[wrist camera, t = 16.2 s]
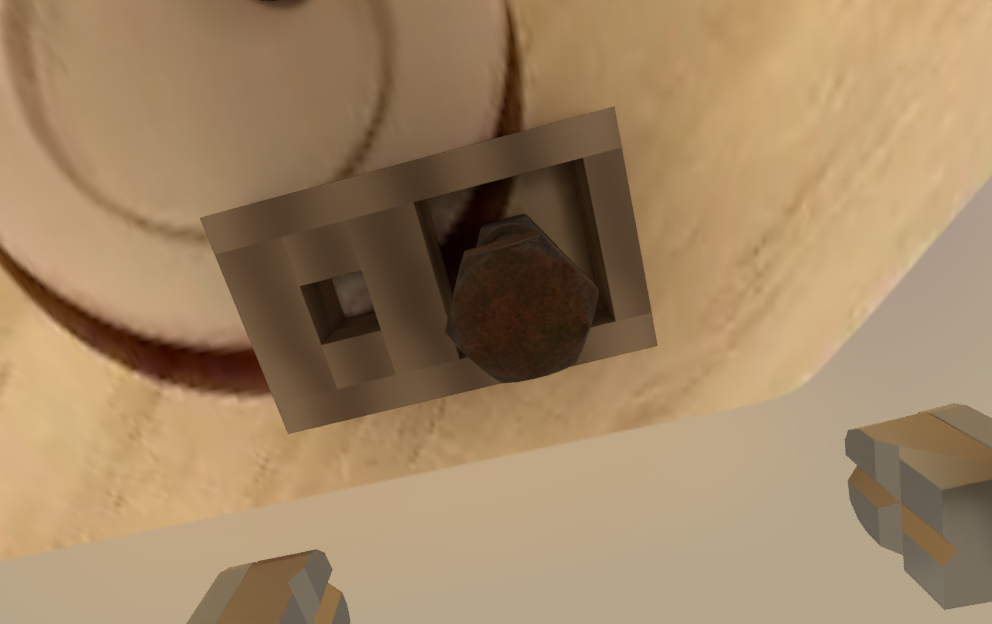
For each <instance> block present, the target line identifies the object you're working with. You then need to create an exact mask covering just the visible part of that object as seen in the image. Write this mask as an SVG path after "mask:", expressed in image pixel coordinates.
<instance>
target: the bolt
mask: <svg viewBox="0 0 992 624" xmlns="http://www.w3.org/2000/svg"><path fill="white" fill-rule="evenodd" d="M598 295H599V289H598V288H597V286H596V285H595V284H594V283H593V282H592V281H591V280H590V279H589V278H588V277H587V276H586V275H585V274H584V273H583V272H582V271H581V270H580V269H579V268H578V267H577V266H576V265H575V264H574V263H573V262H572V261H571V260H570V259H569V258H568V257H567V256H566V255H565V254H564V253H563V252H562V251H561V250H560V249H559V248H558V246H557V245H556V244H555V243H554V242H553V241H552V240H551V239H550V238H549V237H548V236H547V235H546V234H545V233H544V232H543V231H542V230H541V229H540V228H539V227H538V226H537V225H536V224H535V223H534V222H533V221H532V220H531V219H530V218H529V217H528V216H527V215H526V214H523V215H518V216H514V217H510V218H507V219H503V220H500V221H496V222H493V223H490V224H487V225H484V226H481V229H480V233H479V237H478V241H477V245H476V248H473V249H470V250H466V251H464V254H463V257H462V261H461V265H460V269H459V273H458V277H457V281H456V285H455V289H454V293H453V298H452V302H451V306H450V310H449V315H448V319H447V324H446V329H445V333H446V334H447V335H448V337H449V338H450V339H451V340H452V341H453V342H454V344H455V345H456V346H457V347H458V348H459V349H460V350H461V351H462V352H463V353H464V354H465V355H466V356H467V357H468V358H469V359H470V360H472V361H473V362H474V363H475V364H476V365H477V366H479V367H480V368H481V369H482V370H483V371H485V372H486V373H487V374H488V375H490V376H491V377H493V378H494V379H496V380H497V381H499V382H500V383H510V382H520V381H525V380H530V379H535V378H539V377H543V376H547V375H550V374H553V373H556V372H559V371H561V370H564V369H566V368H568V367H570V366H572V365H575V364H576V363H577V361H578V359H579V357H580V355H581V353H582V350H583V348H584V345H585V342H586V339H587V336H588V333H589V330H590V327H591V324H592V321H593V317H594V313H595V310H596V305H597V300H598Z"/></svg>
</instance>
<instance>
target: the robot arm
mask: <svg viewBox="0 0 992 624" xmlns="http://www.w3.org/2000/svg"><path fill="white" fill-rule="evenodd" d="M845 448H846V456H848V457H849V458H850V459H851V460H852V461H853V462H854V463H855V464H857V467H856V468H855V470H854V471H853V473H852V475H851V476H850V478H849V480H848V487H849V495H850V501H851V503H852V506H853V508H854V510H855V513H856V515H857V518H858V520H859V521H860V523H861V524H862V526H863V527H864V528H865V530H866V531H867V533H868V534H869V535H870V536H871V537H872V538H873V539H874V540H875V541H876V542H877V543H878V544H879V545H880V546H882V547H884V548H887V549H889V550H892V551H894V552H897V553H899V554H902V555H903V556H904V570H905V571H906V572H907V573H908V574H909V575H910V576H911V577H912V578H913V579H914V580H915V581H916V582H917V583H918V584H919V585H920V586H921V587H922V588H923V589H924V590H925V591H926V592H927V593H928V594H929V595H930V596H931V597H932V598H933V599H934V600H935V601H936V602H937V603H938V604H939V605H940V606H941V607H942V608H943V609H944V610H946V609H951V608H957V607H963V606H969V605H974V604H980V603H986V602H991V601H992V418H990V417H988V416H986V415H984V414H983V413H981V412H979V411H977V410H975V409H973V408H971V407H969V406H967V405H960V404H954V403H953V404H950V405H946V406H942V407H938V408H934V409H930V410H926V411H922V412H919V413H918V414H915V415H911V416H906V417H902V418H898V419H894V420H889V421H885V422H881V423H876V424H872V425H868V426H864V427H859V428H855V429H851V430H848V432H847V436H846V439H845ZM331 572H332V567H331V565H330V563H329V561H328V559H327V557H326V555H325V553H324V552H321V551H319V550H311V551H306V552H301V553H297V554H292V555H287V556H282V557H277V558H272V559H267V560H262V561H258V562H253V563H248V564H244V565H239V566H235V567H230V568H228V569H226V570H224V571H222V572H221V573H219V575H218V576H217V578H216V579H215V581H214V582H213V584H212V586H211V587H210V588H209V590H208V592H207V593H206V595H205V596H204V598H203V599H202V601H201V602H200V604H199V605H198V607H197V608H196V610H195V611H194V613H193V615H192V616H191V618H190V619H189V621H188V622H187V624H350V617H349V612H348V608H347V603H346V601H345V598H344V596H343V593H342V592H341V591H340V590H338V589H336V588H335V587H334V586H332V585H331V584H329V583H328V580H329V578H330V575H331Z"/></svg>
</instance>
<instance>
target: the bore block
mask: <svg viewBox="0 0 992 624" xmlns="http://www.w3.org/2000/svg"><path fill="white" fill-rule="evenodd" d="M568 161H570V164H571V169H572V173H573V178H574V183H575V188H576V193H577V197H578V202H579V207H580V212H581V217H582V221H583V226H584V231H585V236H586V241H587V245H588V250H589V255H590V260H591V265H592V269H593V274H594V279H595V284H596V286H597V288H598V289H599V295H598V300H597V305H596V310H595V313H594V317H593V321H592V324H591V327H590V330H589V333H588V336H587V339H586V342H585V345H584V348H583V350H582V353H581V355H580V357H579V359H578V361H577V363H576V364H575V365H579V364H583V363H588V362H592V361H596V360H600V359H604V358H608V357H613V356H617V355H621V354H625V353H629V352H634V351H638V350H642V349H646V348H650V347H655V346H657V340H656V335H655V329H654V323H653V318H652V312H651V307H650V301H649V296H648V290H647V285H646V279H645V274H644V268H643V262H642V257H641V251H640V246H639V240H638V235H637V229H636V224H635V218H634V213H633V207H632V202H631V196H630V190H629V185H628V179H627V174H626V168H625V163H624V157H623V152H622V146H621V141H620V135H619V129H618V124H617V118H616V113H615V107H611V108H607V109H603V110H600V111H596V112H592V113H588V114H585V115H581V116H577V117H574V118H570V119H566V120H562V121H559V122H555V123H551V124H547V125H544V126H540V127H536V128H533V129H529V130H525V131H521V132H518V133H514V134H510V135H507V136H503V137H499V138H495V139H492V140H488V141H484V142H480V143H477V144H473V145H469V146H466V147H462V148H458V149H454V150H451V151H447V152H443V153H440V154H436V155H432V156H428V157H425V158H421V159H417V160H413V161H410V162H406V163H402V164H399V165H395V166H391V167H387V168H384V169H380V170H376V171H373V172H369V173H365V174H361V175H358V176H354V177H350V178H346V179H343V180H339V181H335V182H332V183H328V184H324V185H320V186H317V187H313V188H309V189H306V190H302V191H298V192H294V193H291V194H287V195H283V196H279V197H276V198H272V199H268V200H265V201H261V202H257V203H253V204H250V205H246V206H242V207H239V208H235V209H231V210H227V211H224V212H220V213H216V214H212V215H209V216H205V217H201V218H200V220H201V222H202V224H203V227H204V229H205V232H206V234H207V237H208V239H209V242H210V244H211V246H212V249H213V251H214V254H215V256H216V259H217V261H218V264H219V266H220V268H221V271H222V273H223V276H224V278H225V281H226V283H227V286H228V288H229V290H230V293H231V295H232V298H233V300H234V303H235V305H236V308H237V310H238V312H239V315H240V317H241V320H242V322H243V325H244V327H245V330H246V332H247V334H248V337H249V339H250V342H251V344H252V347H253V349H254V352H255V354H256V356H257V359H258V361H259V364H260V366H261V369H262V371H263V374H264V376H265V378H266V381H267V383H268V386H269V388H270V391H271V393H272V396H273V398H274V400H275V403H276V405H277V408H278V410H279V413H280V415H281V418H282V420H283V422H284V425H285V427H286V430H287V432H288V434H290V433H294V432H299V431H303V430H307V429H311V428H315V427H320V426H324V425H328V424H332V423H336V422H341V421H345V420H349V419H353V418H357V417H361V416H366V415H370V414H374V413H378V412H382V411H387V410H391V409H395V408H399V407H403V406H408V405H412V404H416V403H420V402H424V401H428V400H433V399H437V398H441V397H445V396H449V395H454V394H458V393H462V392H466V391H470V390H474V389H479V388H483V387H487V386H491V385H495V384H500V382H499V381H497V380H496V379H494V378H493V377H491V376H490V375H488V374H487V373H486V372H485V371H483V370H482V369H481V368H480V367H479V366H477V365H476V364H475V363H474V362H473V361H472V360H470V359H469V358H468V357H467V356H466V355H465V354H464V353H463V352H462V351H461V350H460V349H459V348H458V347H457V346H456V345H455V344H454V342H453V341H452V340H451V339H450V338H449V337H448V335H447V334H446V333H445V329H446V324H447V319H448V315H449V310H450V306H451V302H452V298H453V292H452V288H451V285H450V281H449V278H448V274H447V271H446V267H445V264H444V260H443V257H442V253H441V250H440V246H439V243H438V240H437V236H436V233H435V229H434V226H433V222H432V219H431V215H430V212H429V208H428V205H427V201H426V199H428V198H432V197H436V196H439V195H443V194H447V193H451V192H455V191H458V190H462V189H466V188H470V187H474V186H477V185H481V184H485V183H489V182H493V181H496V180H500V179H504V178H508V177H512V176H515V175H519V174H523V173H527V172H531V171H534V170H538V169H542V168H546V167H549V166H553V165H557V164H561V163H565V162H568ZM357 271H362V274H363V277H364V280H365V283H366V286H367V289H368V292H369V295H370V298H371V301H372V304H373V307H374V310H375V312H372V313H368V314H364V315H360V316H356V317H352V318H348V319H345V317H344V314H343V312H342V309H341V306H340V303H339V300H338V297H337V294H336V292H335V289H334V286H333V283H332V280H331V278H334V277H338V276H342V275H346V274H349V273H353V272H357ZM575 365H572V366H575ZM570 367H571V366H570Z"/></svg>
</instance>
